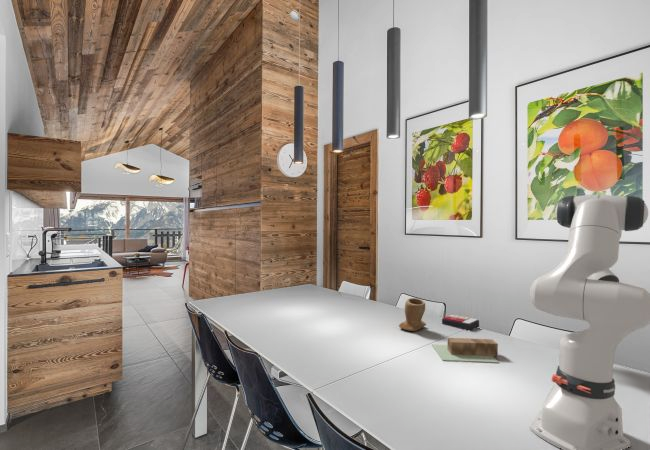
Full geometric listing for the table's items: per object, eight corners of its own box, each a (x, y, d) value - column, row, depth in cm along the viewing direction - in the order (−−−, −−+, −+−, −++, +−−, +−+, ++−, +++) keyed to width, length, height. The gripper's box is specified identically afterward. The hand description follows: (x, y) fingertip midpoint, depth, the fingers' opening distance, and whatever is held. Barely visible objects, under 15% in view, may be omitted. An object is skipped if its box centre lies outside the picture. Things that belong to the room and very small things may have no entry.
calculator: (451, 313, 181) (479, 318, 170) (451, 321, 181) (479, 326, 170) (441, 317, 174) (469, 322, 163) (441, 325, 174) (470, 331, 163)
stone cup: (417, 335, 156) (417, 303, 155) (395, 329, 164) (396, 299, 164) (432, 328, 166) (433, 298, 166) (411, 322, 175) (412, 294, 175)
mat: (481, 347, 142) (481, 346, 142) (498, 363, 126) (498, 362, 126) (431, 345, 143) (431, 344, 143) (442, 360, 127) (442, 359, 127)
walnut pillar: (492, 339, 136) (447, 337, 137) (497, 343, 131) (451, 342, 132) (491, 351, 136) (447, 349, 137) (497, 356, 131) (451, 354, 132)
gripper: (552, 285, 141) (519, 285, 142) (587, 292, 121) (549, 293, 122) (553, 300, 141) (520, 300, 142) (589, 309, 121) (550, 310, 121)
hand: (533, 297), depth 132 cm, fingers closed
